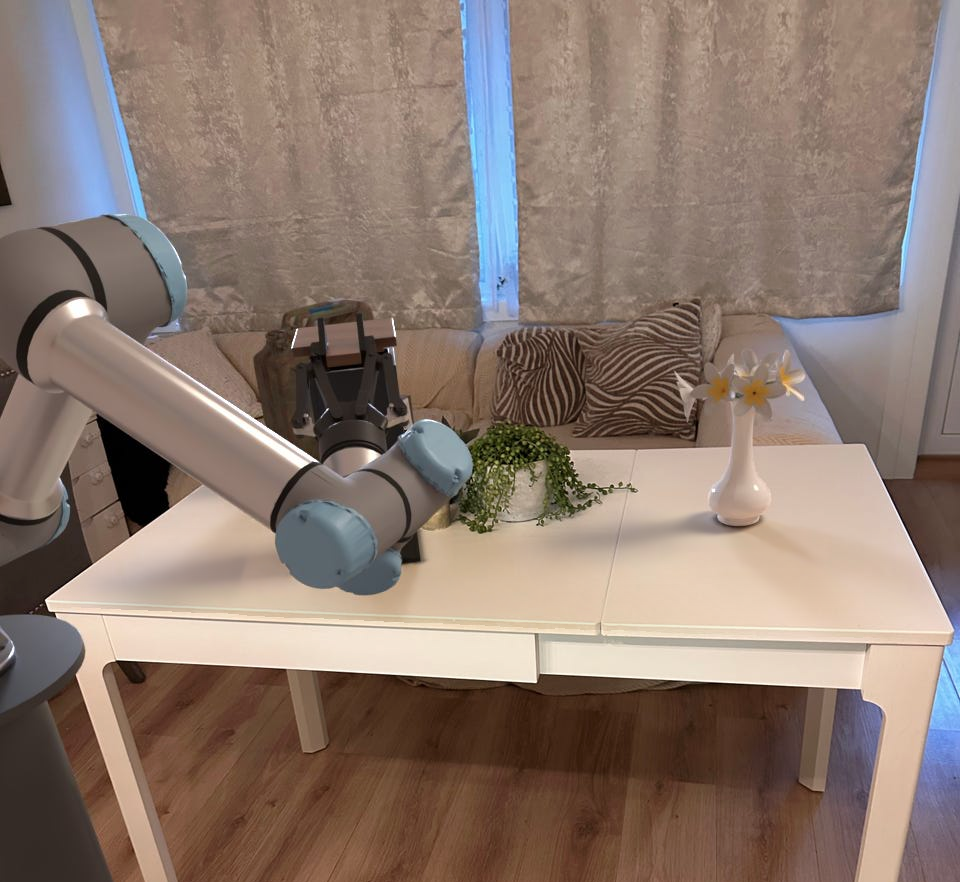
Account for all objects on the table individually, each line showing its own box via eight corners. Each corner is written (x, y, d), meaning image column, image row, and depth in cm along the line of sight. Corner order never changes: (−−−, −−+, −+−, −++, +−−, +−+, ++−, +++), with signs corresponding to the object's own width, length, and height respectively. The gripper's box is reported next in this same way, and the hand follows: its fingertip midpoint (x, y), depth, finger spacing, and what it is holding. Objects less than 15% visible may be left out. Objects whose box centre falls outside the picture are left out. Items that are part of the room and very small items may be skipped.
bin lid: (400, 366, 112) (398, 348, 111) (290, 378, 111) (287, 360, 110) (394, 332, 130) (392, 316, 129) (299, 343, 129) (296, 327, 128)
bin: (420, 561, 141) (395, 365, 127) (340, 571, 141) (306, 375, 127) (416, 531, 152) (393, 346, 138) (342, 540, 151) (310, 356, 137)
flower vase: (664, 511, 150) (665, 351, 138) (778, 498, 150) (789, 337, 138) (687, 543, 138) (690, 371, 126) (810, 529, 139) (825, 356, 127)
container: (367, 450, 192) (344, 295, 177) (398, 458, 185) (376, 298, 171) (272, 482, 179) (239, 318, 165) (302, 493, 172) (270, 323, 158)
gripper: (284, 498, 107) (277, 356, 119) (433, 480, 108) (412, 340, 120) (270, 453, 101) (265, 307, 113) (429, 434, 102) (407, 291, 114)
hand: (341, 324), depth 116 cm, fingers closed on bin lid, 4 cm apart
